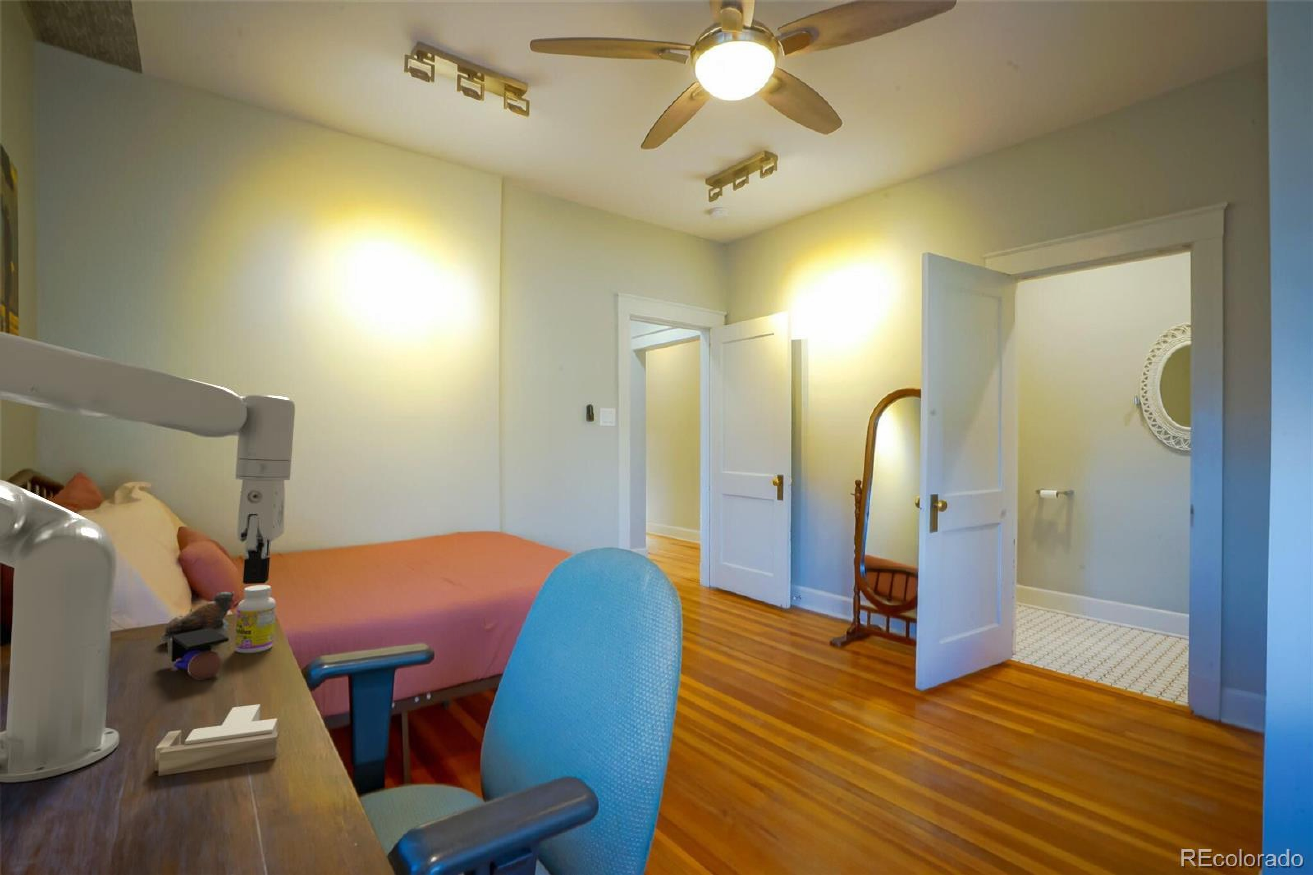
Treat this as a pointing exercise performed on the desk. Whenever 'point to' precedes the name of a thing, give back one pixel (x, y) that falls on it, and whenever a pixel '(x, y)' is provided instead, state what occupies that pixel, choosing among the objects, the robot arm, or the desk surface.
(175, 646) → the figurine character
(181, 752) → the corner stop
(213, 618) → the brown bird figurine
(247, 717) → the t block
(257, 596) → the supplement bottle
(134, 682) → the desk surface
